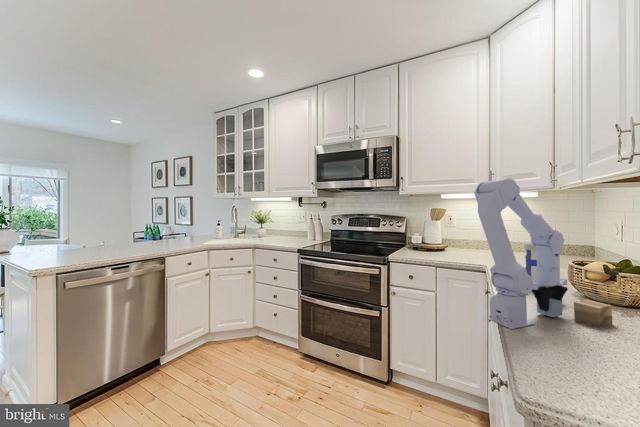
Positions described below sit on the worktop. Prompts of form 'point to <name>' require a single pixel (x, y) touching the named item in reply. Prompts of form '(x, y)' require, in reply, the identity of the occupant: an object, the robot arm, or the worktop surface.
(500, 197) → the robot arm
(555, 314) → the cube
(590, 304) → the slab upper
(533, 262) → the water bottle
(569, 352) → the worktop surface
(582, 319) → the slab lower
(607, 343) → the worktop surface
